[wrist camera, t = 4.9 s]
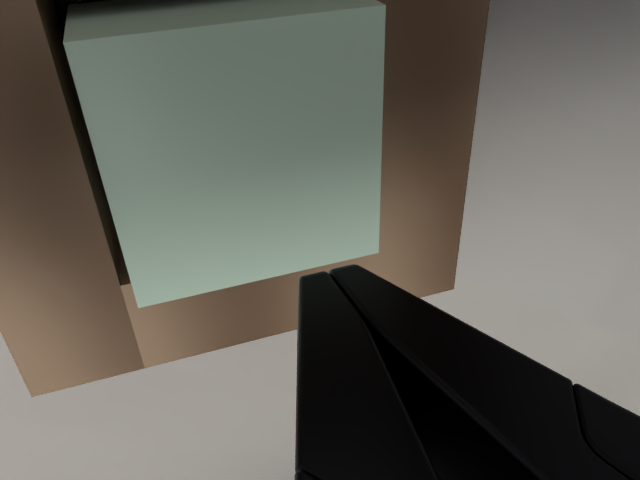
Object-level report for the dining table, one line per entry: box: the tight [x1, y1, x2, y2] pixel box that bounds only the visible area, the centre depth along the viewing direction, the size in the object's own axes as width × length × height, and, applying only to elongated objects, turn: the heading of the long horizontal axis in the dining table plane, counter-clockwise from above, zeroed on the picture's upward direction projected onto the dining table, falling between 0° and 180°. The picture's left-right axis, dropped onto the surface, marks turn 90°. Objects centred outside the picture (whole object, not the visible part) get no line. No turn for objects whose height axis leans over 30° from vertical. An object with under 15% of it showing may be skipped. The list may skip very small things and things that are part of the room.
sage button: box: [63, 0, 386, 308], centre depth 13 cm, size 6×6×3 cm
